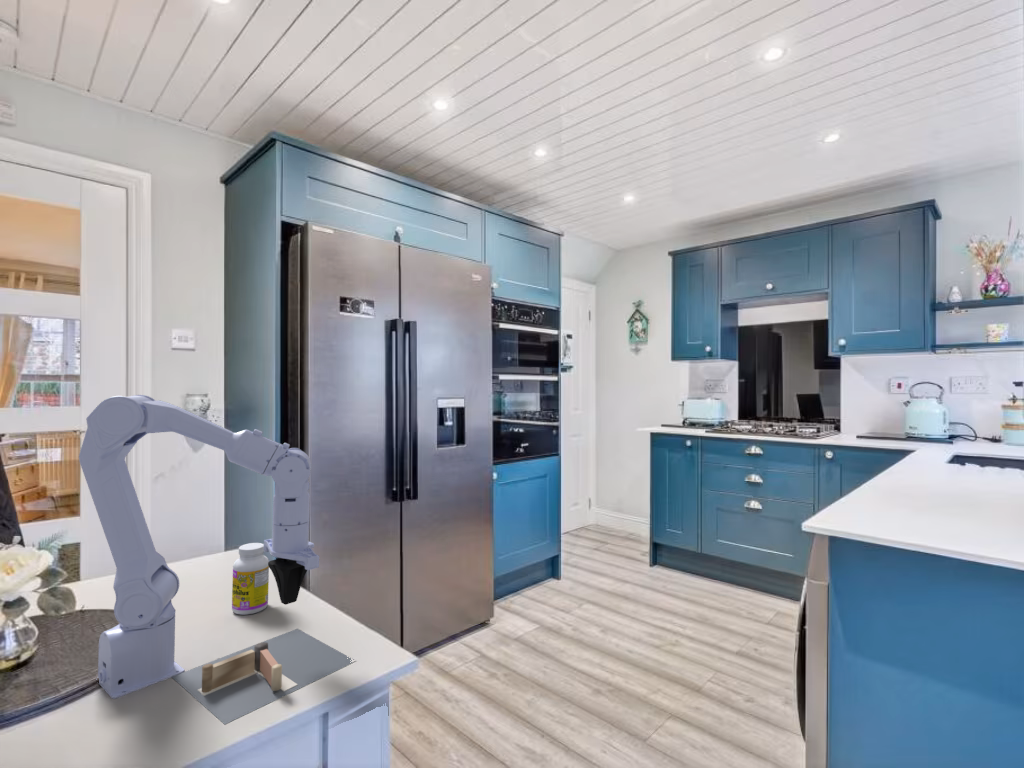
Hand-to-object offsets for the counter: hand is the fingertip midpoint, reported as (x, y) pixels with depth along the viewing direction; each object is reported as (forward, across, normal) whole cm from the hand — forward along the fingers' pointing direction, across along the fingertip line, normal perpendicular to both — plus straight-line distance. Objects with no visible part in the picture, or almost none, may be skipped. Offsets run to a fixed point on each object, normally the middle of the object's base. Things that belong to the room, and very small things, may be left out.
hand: (288, 601), depth 89 cm
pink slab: (+8, -6, +6) cm, 12 cm away
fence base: (+9, -1, +9) cm, 13 cm away
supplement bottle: (+10, +24, -5) cm, 26 cm away
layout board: (+9, -2, +4) cm, 10 cm away
